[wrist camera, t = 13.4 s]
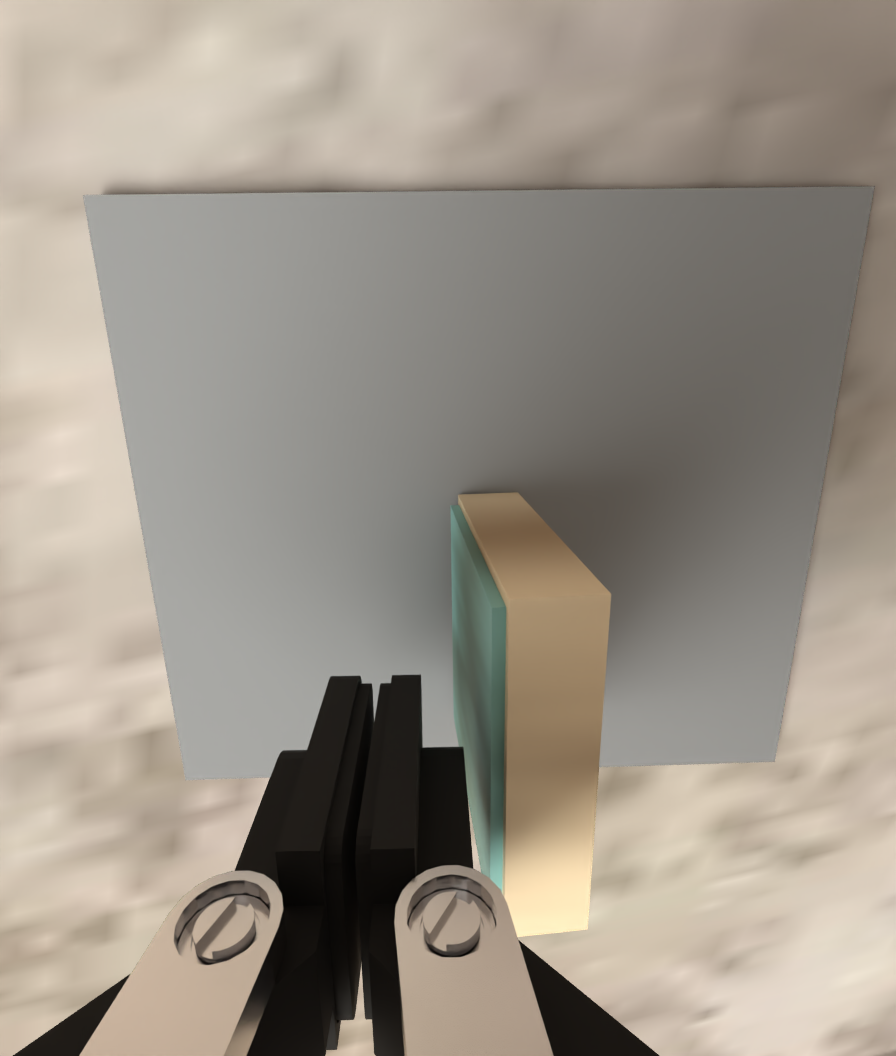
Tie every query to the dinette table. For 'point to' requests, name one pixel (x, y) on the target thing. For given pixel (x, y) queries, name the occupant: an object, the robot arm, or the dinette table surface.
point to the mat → (476, 438)
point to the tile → (528, 705)
